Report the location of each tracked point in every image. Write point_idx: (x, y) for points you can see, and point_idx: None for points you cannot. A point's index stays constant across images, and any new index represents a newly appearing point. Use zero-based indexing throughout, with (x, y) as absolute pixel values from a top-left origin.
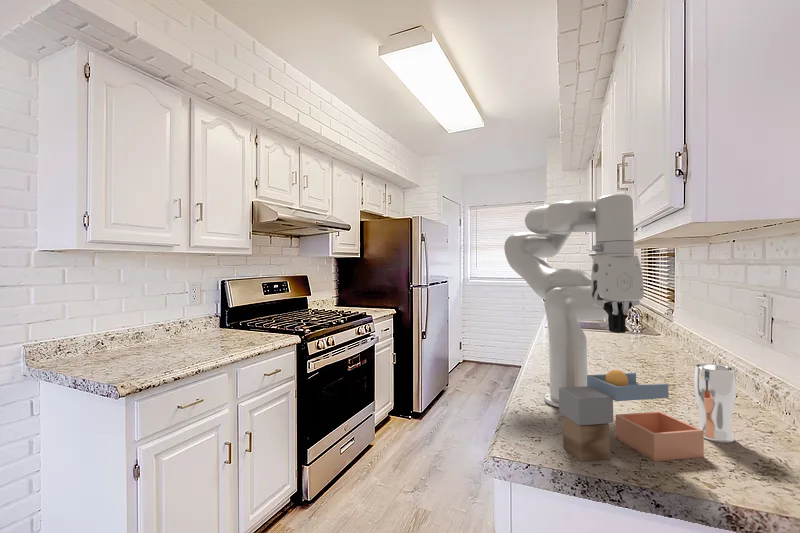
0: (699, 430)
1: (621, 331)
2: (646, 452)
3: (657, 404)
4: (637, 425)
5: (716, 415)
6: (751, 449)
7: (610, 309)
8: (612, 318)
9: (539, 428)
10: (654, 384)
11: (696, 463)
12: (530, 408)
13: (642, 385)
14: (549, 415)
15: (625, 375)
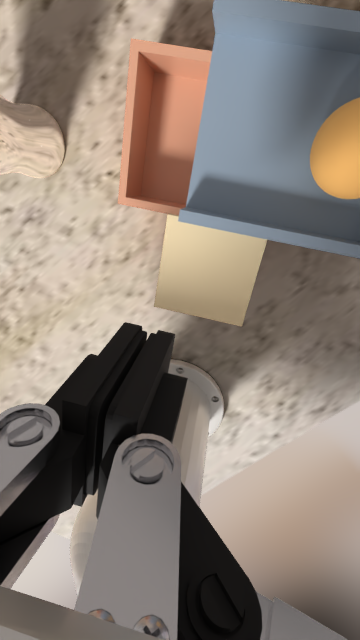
0: (140, 43)
1: (144, 337)
2: None
3: (10, 322)
4: None
5: (14, 106)
6: (17, 59)
7: (188, 526)
8: (173, 435)
9: (354, 327)
10: (277, 13)
11: (198, 40)
12: (275, 411)
13: (346, 19)
14: (270, 369)
15: (356, 108)
